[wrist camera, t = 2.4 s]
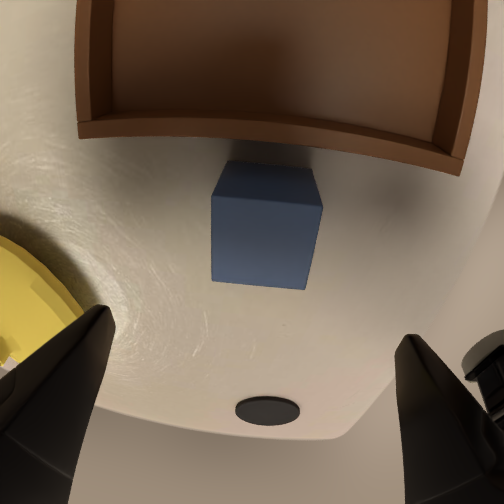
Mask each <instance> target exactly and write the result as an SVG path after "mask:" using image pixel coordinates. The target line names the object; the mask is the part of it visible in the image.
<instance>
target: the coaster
mask: <svg viewBox="0 0 504 504" xmlns="http://www.w3.org/2000/svg"><path fill="white" fill-rule="evenodd" d="M235 413H236V415H237V416H238V417H239V418H240V419H242V420H244V421H246V422H248V423H252V424H256V425H265V426H274V425H282V424H286V423H289V422H292V421H294V420H295V419H297V418H298V416H299V414H300V410H299V407H298V406H297V405H296V404H295V403H293V402H291V401H289V400H286V399H282V398H276V397H256V398H250V399H246V400H244V401H241V402H240V403H239V404H238V405H237V406H236V410H235Z"/></svg>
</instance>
